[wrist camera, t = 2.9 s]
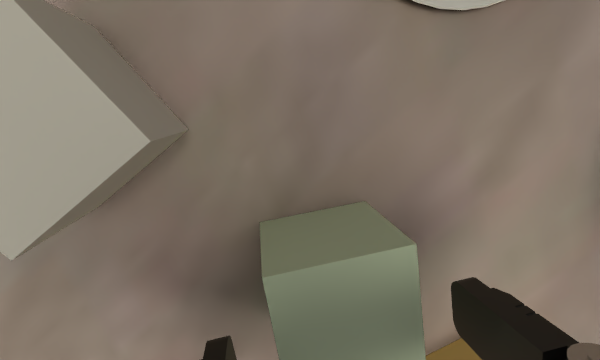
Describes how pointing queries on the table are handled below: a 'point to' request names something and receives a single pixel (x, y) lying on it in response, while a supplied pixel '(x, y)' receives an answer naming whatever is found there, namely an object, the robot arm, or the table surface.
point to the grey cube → (67, 122)
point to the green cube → (342, 286)
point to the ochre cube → (454, 352)
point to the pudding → (458, 3)
